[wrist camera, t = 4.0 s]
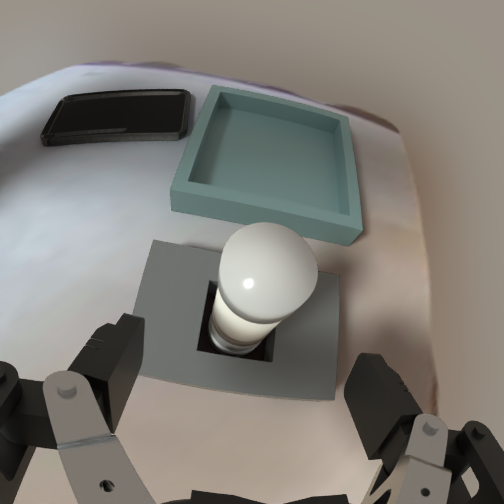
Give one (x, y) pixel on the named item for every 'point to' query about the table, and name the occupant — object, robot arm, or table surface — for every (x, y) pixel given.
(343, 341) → the table surface
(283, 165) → the parts tray
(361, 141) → the table surface
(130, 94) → the phone
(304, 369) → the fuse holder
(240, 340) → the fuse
